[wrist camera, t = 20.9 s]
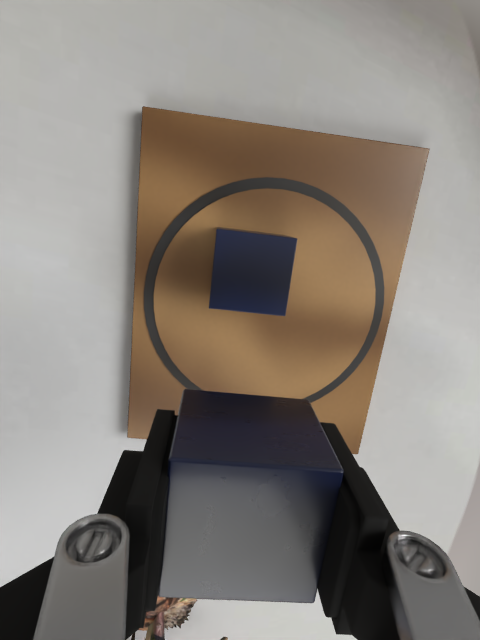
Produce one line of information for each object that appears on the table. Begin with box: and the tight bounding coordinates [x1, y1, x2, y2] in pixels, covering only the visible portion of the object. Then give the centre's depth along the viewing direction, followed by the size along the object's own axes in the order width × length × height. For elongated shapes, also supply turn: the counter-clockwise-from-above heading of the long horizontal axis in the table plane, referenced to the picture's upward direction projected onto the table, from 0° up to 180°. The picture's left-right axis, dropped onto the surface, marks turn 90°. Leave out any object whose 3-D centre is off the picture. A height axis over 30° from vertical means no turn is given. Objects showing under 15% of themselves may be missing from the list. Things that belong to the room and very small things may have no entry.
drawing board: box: [127, 107, 429, 454], centre depth 23 cm, size 20×16×1 cm
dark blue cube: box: [209, 227, 298, 316], centre depth 20 cm, size 4×4×4 cm
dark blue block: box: [158, 389, 344, 603], centre depth 10 cm, size 4×4×4 cm
